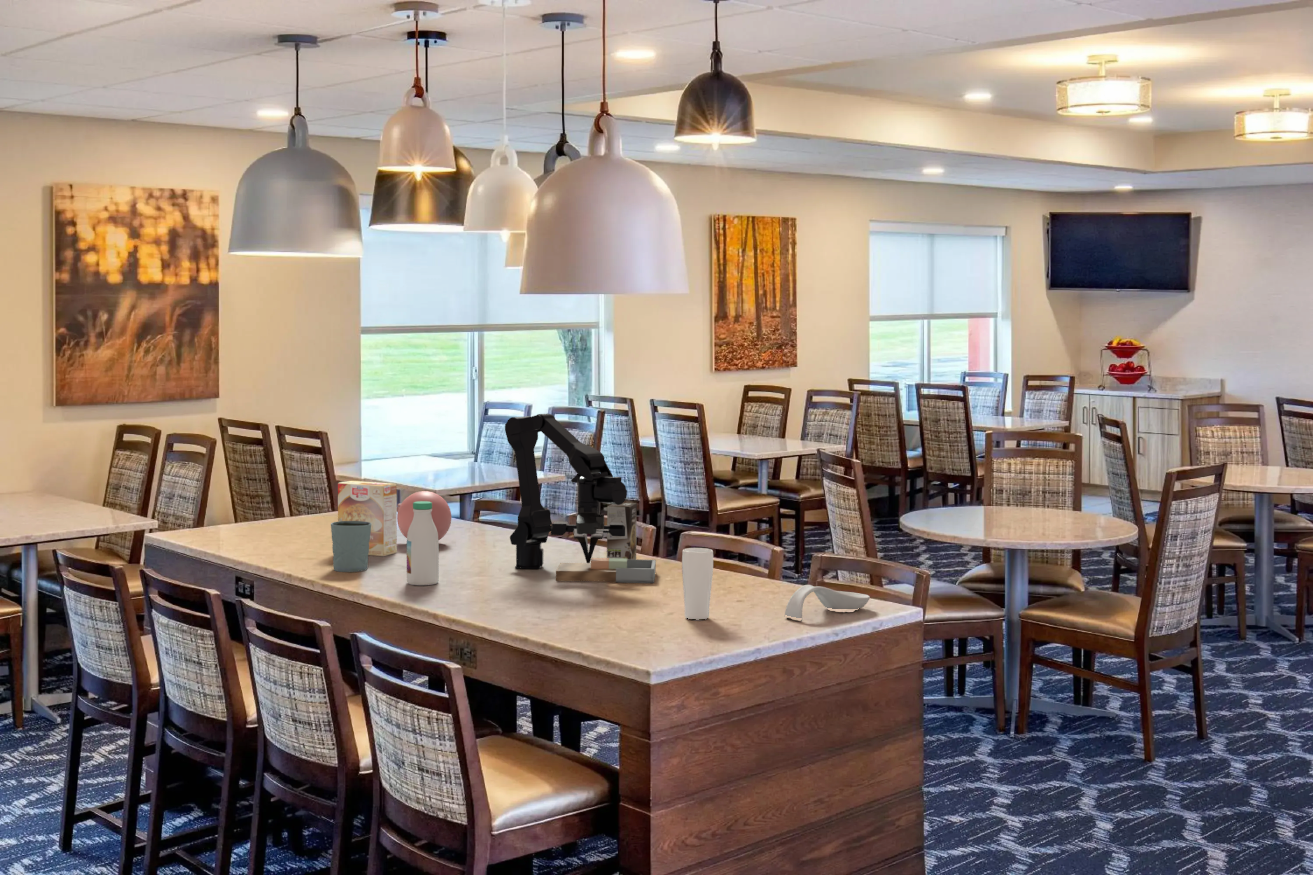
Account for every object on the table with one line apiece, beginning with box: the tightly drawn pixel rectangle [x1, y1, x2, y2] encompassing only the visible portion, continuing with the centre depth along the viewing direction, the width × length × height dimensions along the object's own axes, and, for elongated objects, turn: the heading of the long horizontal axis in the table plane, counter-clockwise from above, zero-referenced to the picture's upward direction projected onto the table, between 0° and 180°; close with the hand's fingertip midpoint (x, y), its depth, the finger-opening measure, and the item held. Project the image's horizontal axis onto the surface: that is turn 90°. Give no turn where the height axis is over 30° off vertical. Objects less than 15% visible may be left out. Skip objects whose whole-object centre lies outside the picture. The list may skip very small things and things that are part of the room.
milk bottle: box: [406, 501, 440, 586], centre depth 340 cm, size 8×8×20 cm
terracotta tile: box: [590, 557, 609, 569], centre depth 352 cm, size 4×4×2 cm
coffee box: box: [606, 502, 638, 559], centre depth 371 cm, size 9×6×16 cm
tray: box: [615, 558, 657, 584], centre depth 352 cm, size 9×14×4 cm
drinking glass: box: [681, 547, 714, 621], centre depth 303 cm, size 7×7×15 cm
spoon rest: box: [784, 584, 871, 619], centre depth 310 cm, size 24×12×7 cm, turn 135°
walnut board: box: [555, 562, 616, 583], centre depth 352 cm, size 15×12×2 cm
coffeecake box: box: [337, 480, 398, 557], centre depth 385 cm, size 15×7×20 cm, turn 68°
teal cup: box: [330, 521, 371, 573], centre depth 359 cm, size 10×10×12 cm
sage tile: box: [609, 558, 627, 569], centre depth 352 cm, size 4×4×2 cm
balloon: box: [397, 490, 452, 542], centre depth 403 cm, size 15×20×15 cm
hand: (588, 562), depth 352 cm, fingers closed
